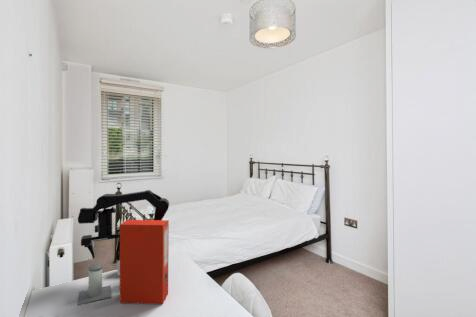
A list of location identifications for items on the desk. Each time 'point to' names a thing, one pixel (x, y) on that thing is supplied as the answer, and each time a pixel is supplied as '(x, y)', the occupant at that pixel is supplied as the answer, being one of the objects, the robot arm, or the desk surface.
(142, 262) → the file binder
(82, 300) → the charcoal pad
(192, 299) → the desk surface
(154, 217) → the robot arm
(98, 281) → the tin canister
